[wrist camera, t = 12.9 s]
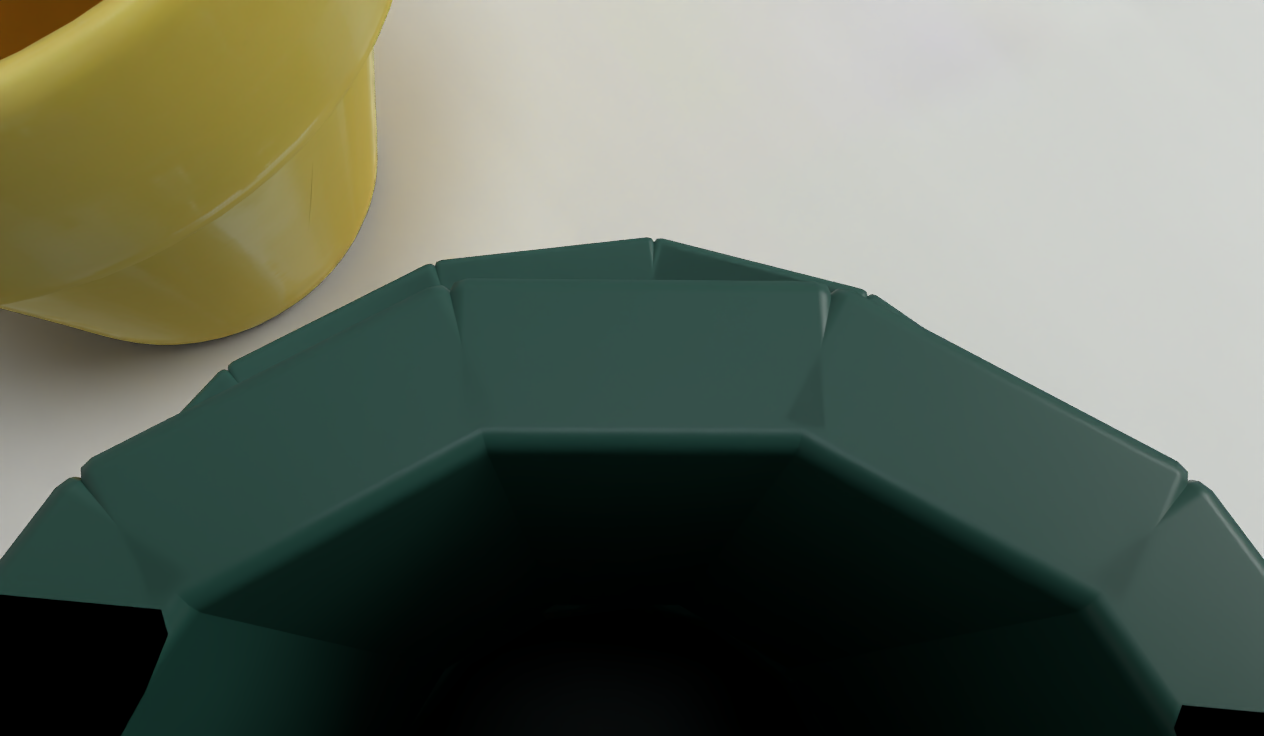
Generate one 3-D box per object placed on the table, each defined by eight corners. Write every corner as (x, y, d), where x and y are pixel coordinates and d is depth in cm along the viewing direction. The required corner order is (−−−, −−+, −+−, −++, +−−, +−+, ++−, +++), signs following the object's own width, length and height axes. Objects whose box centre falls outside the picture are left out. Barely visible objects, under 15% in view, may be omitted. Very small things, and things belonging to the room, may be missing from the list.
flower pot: (-140, 490, 17) (-1045, 229, 8) (-77, -33, 20) (-663, -670, 11) (495, 428, 18) (374, 116, 8) (459, -71, 21) (342, -703, 11)
